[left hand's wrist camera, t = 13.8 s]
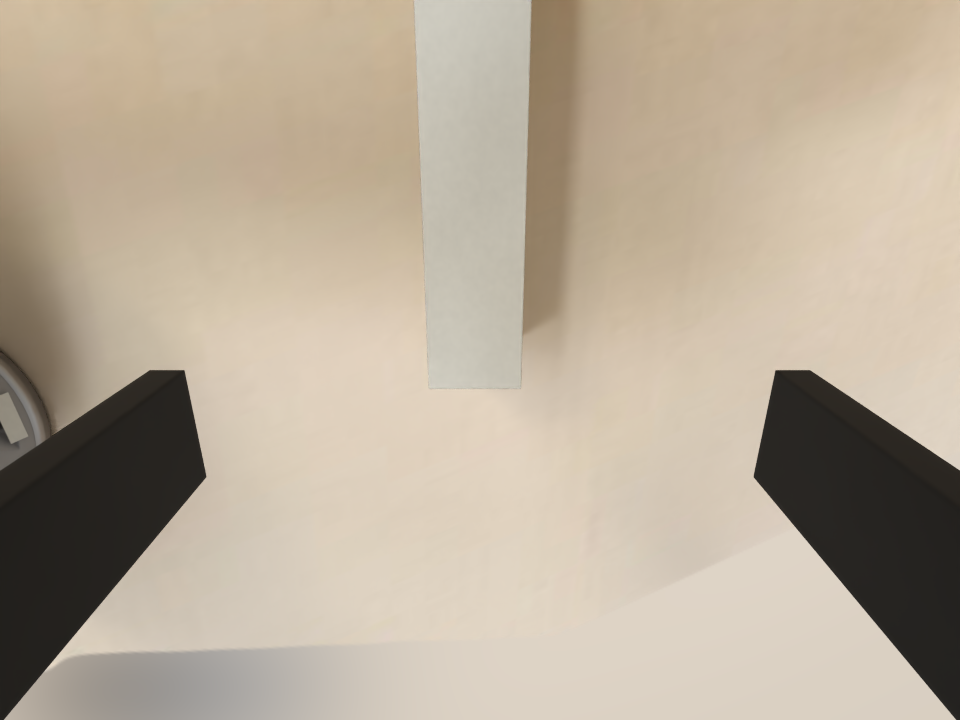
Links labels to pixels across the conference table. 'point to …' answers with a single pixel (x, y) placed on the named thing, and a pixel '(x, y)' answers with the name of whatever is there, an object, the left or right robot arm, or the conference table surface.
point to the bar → (473, 186)
